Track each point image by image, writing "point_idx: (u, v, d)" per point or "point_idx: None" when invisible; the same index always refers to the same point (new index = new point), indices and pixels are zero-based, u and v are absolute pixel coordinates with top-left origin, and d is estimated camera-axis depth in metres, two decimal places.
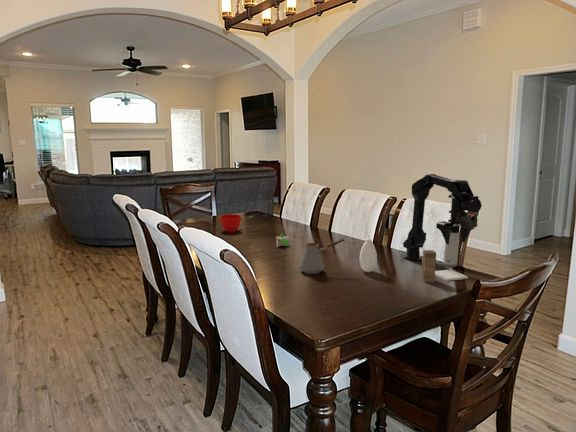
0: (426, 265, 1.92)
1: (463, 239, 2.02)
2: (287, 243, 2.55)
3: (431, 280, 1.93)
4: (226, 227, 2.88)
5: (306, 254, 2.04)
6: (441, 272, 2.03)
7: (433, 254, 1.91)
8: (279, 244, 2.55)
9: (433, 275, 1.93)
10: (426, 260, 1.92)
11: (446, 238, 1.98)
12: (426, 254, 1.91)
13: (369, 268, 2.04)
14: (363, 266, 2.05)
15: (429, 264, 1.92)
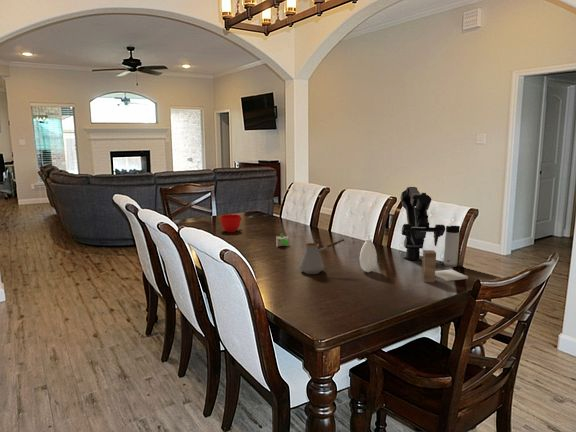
0: (426, 265, 1.92)
1: None
2: (287, 243, 2.55)
3: (431, 280, 1.93)
4: (226, 227, 2.88)
5: (306, 254, 2.04)
6: (441, 272, 2.03)
7: (433, 254, 1.91)
8: (279, 244, 2.55)
9: (433, 275, 1.93)
10: (426, 260, 1.92)
11: (437, 240, 2.03)
12: (426, 254, 1.91)
13: (369, 268, 2.04)
14: (363, 266, 2.05)
15: (429, 264, 1.92)
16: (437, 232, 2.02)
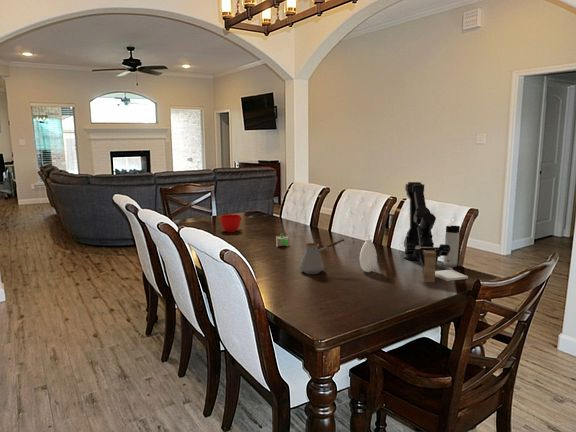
0: (426, 265, 1.92)
1: None
2: (287, 243, 2.55)
3: (431, 280, 1.93)
4: (226, 227, 2.88)
5: (306, 254, 2.04)
6: (441, 272, 2.03)
7: (433, 254, 1.91)
8: (279, 244, 2.55)
9: (433, 275, 1.93)
10: (426, 260, 1.92)
11: None
12: (426, 254, 1.91)
13: (369, 268, 2.04)
14: (363, 266, 2.05)
15: (429, 264, 1.92)
16: (437, 252, 1.94)
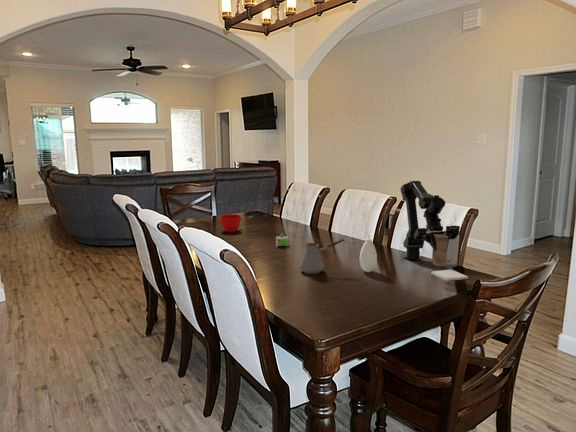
0: (438, 249, 1.93)
1: None
2: (287, 243, 2.55)
3: (443, 263, 1.94)
4: (226, 227, 2.88)
5: (306, 254, 2.04)
6: (441, 272, 2.03)
7: (445, 238, 1.92)
8: (279, 244, 2.55)
9: (445, 258, 1.94)
10: (438, 244, 1.92)
11: None
12: (438, 238, 1.92)
13: (369, 268, 2.04)
14: (363, 266, 2.05)
15: (441, 248, 1.93)
16: None
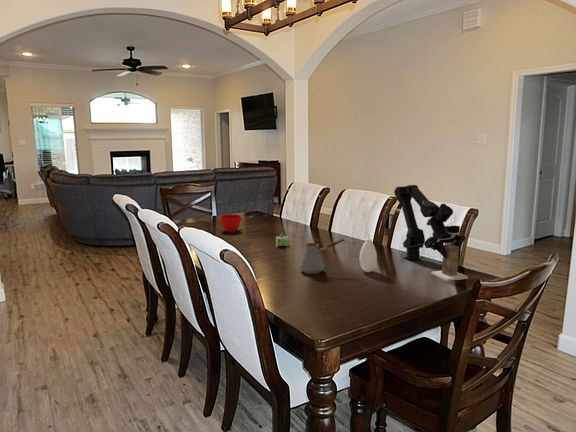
0: (450, 259, 1.98)
1: None
2: (286, 243, 2.55)
3: (454, 273, 2.00)
4: (226, 227, 2.88)
5: (306, 254, 2.04)
6: (441, 272, 2.03)
7: (456, 248, 1.98)
8: (278, 244, 2.55)
9: (456, 268, 1.99)
10: (451, 254, 1.97)
11: None
12: (451, 248, 1.97)
13: (369, 268, 2.04)
14: (363, 266, 2.05)
15: (453, 258, 1.98)
16: (458, 243, 2.01)
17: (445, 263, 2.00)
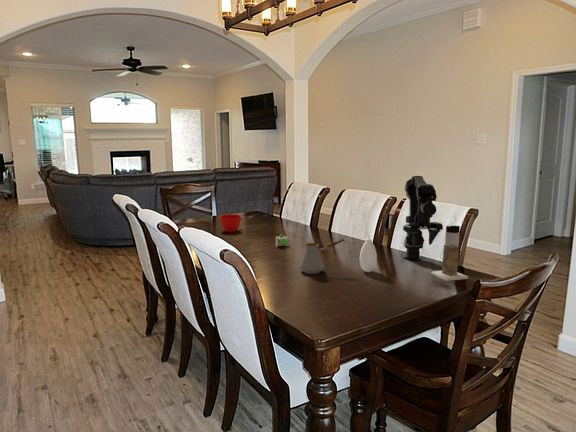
0: (450, 259, 1.98)
1: None
2: (286, 243, 2.55)
3: (454, 273, 2.00)
4: (226, 227, 2.88)
5: (306, 254, 2.04)
6: (441, 272, 2.03)
7: (456, 248, 1.97)
8: (278, 244, 2.55)
9: (456, 268, 1.99)
10: (451, 254, 1.97)
11: None
12: (451, 248, 1.97)
13: (369, 268, 2.04)
14: (363, 266, 2.05)
15: (453, 258, 1.98)
16: (436, 233, 2.07)
17: (445, 263, 2.00)
